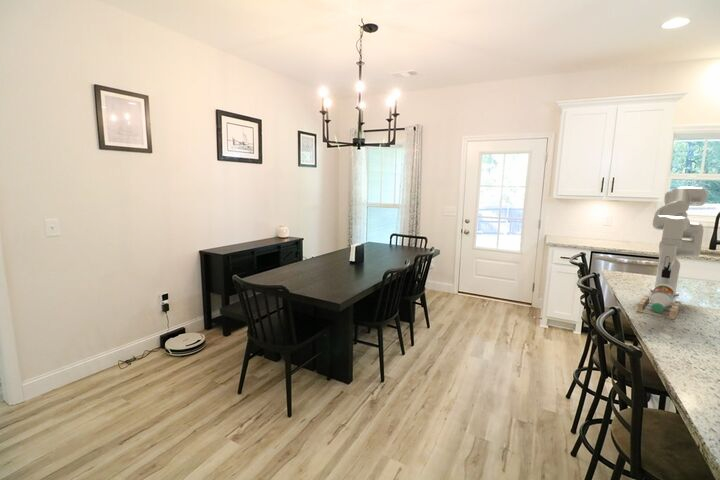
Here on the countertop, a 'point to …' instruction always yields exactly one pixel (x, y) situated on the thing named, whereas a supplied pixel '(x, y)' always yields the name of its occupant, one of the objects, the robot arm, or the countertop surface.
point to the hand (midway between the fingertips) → (665, 277)
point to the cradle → (646, 308)
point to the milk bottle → (661, 297)
